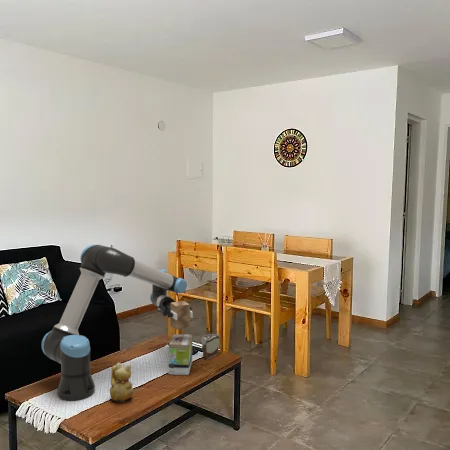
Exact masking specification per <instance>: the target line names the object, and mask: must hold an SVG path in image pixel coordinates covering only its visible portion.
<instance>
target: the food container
mask: <svg viewBox="0 0 450 450" xmlns="http://www.w3.org/2000/svg"><path fill="white" fill-rule="evenodd" d="M220 339H221V336H220V334H219V333H218V334H216V333H209V334H204V335H203V336H201V339H200V343H201V345H202V357H203V359H204V360H209V359H211V358H213V357H215V356H217V355H219V349H220V346H219V345H220Z"/></svg>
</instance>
